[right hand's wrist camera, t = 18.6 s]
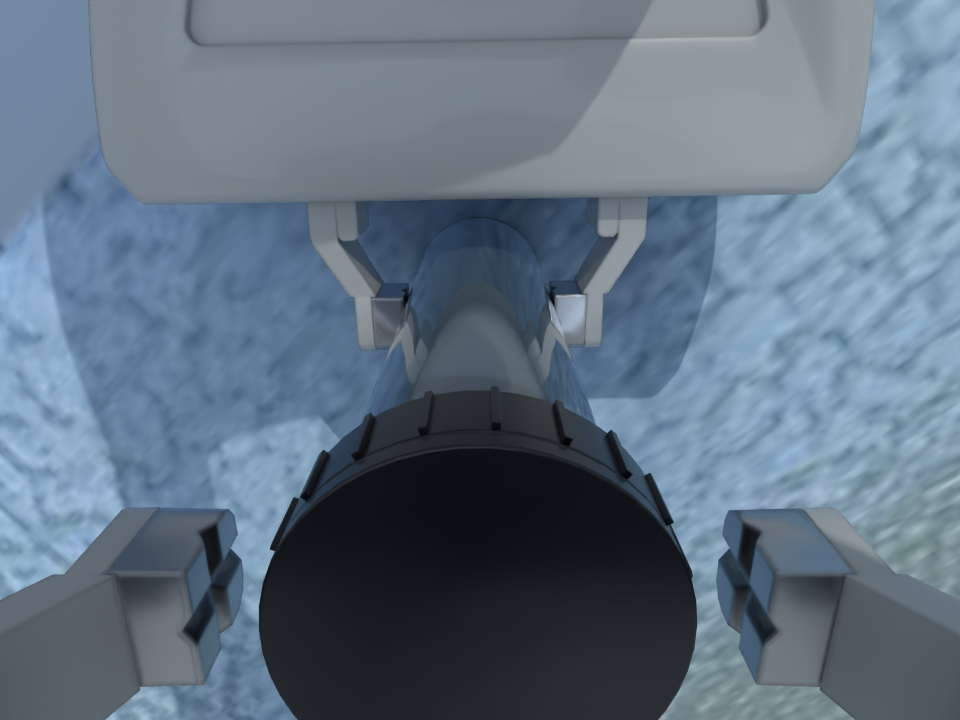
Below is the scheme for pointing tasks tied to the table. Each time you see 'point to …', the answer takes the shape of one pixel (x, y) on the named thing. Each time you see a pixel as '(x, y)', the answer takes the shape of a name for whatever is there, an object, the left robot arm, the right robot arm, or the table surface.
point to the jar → (479, 324)
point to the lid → (477, 572)
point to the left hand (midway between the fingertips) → (481, 343)
